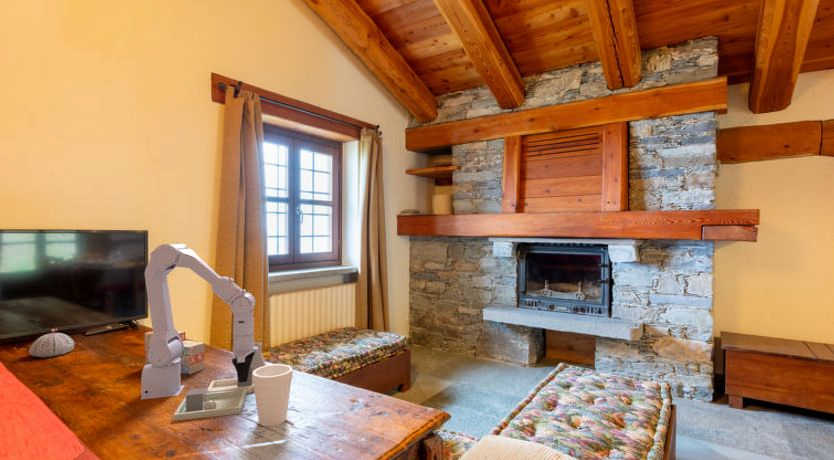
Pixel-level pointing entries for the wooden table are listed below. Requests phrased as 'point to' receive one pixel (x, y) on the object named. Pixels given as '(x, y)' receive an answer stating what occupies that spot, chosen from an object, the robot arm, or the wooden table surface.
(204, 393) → the grey cube
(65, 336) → the sea urchin shell
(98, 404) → the wooden table surface
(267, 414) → the foam cup
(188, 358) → the cardboard box
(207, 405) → the pale pink ball
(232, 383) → the dish
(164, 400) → the wooden table surface
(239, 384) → the grey cube
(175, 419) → the bin
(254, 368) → the flask
